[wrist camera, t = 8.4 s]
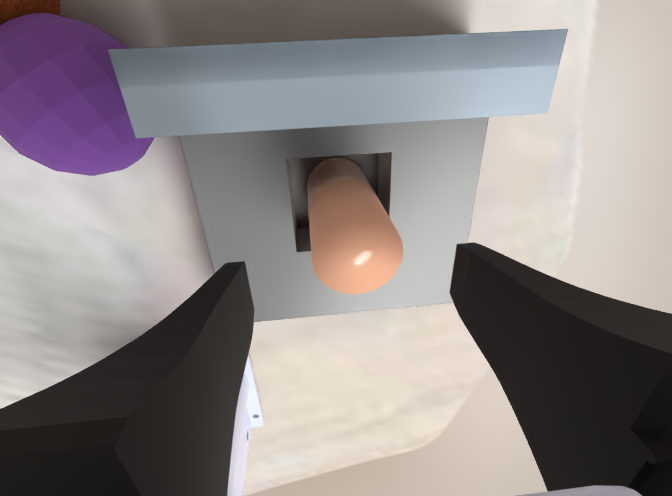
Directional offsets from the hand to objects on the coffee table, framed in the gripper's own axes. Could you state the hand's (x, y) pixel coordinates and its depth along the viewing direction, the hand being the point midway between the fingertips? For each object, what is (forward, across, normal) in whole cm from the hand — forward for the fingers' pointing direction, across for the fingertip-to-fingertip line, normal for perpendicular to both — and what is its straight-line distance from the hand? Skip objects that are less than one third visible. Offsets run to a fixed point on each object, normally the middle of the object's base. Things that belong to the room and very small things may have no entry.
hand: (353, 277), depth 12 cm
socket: (+9, 0, 0) cm, 9 cm away
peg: (+9, 0, 0) cm, 9 cm away
